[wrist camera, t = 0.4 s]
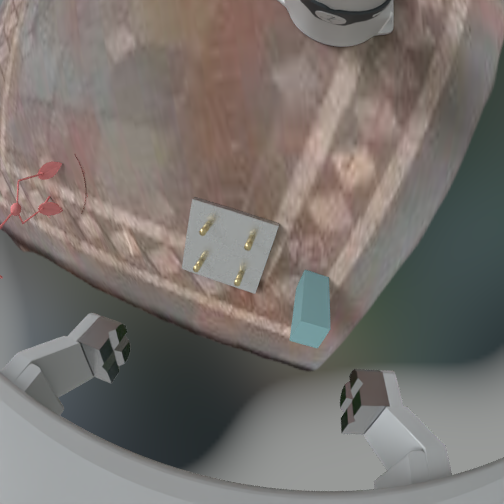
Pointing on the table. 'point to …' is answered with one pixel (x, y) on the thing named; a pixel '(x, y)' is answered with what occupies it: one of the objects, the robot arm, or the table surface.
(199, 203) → the post plate
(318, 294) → the teal block
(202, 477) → the robot arm
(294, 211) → the table surface
